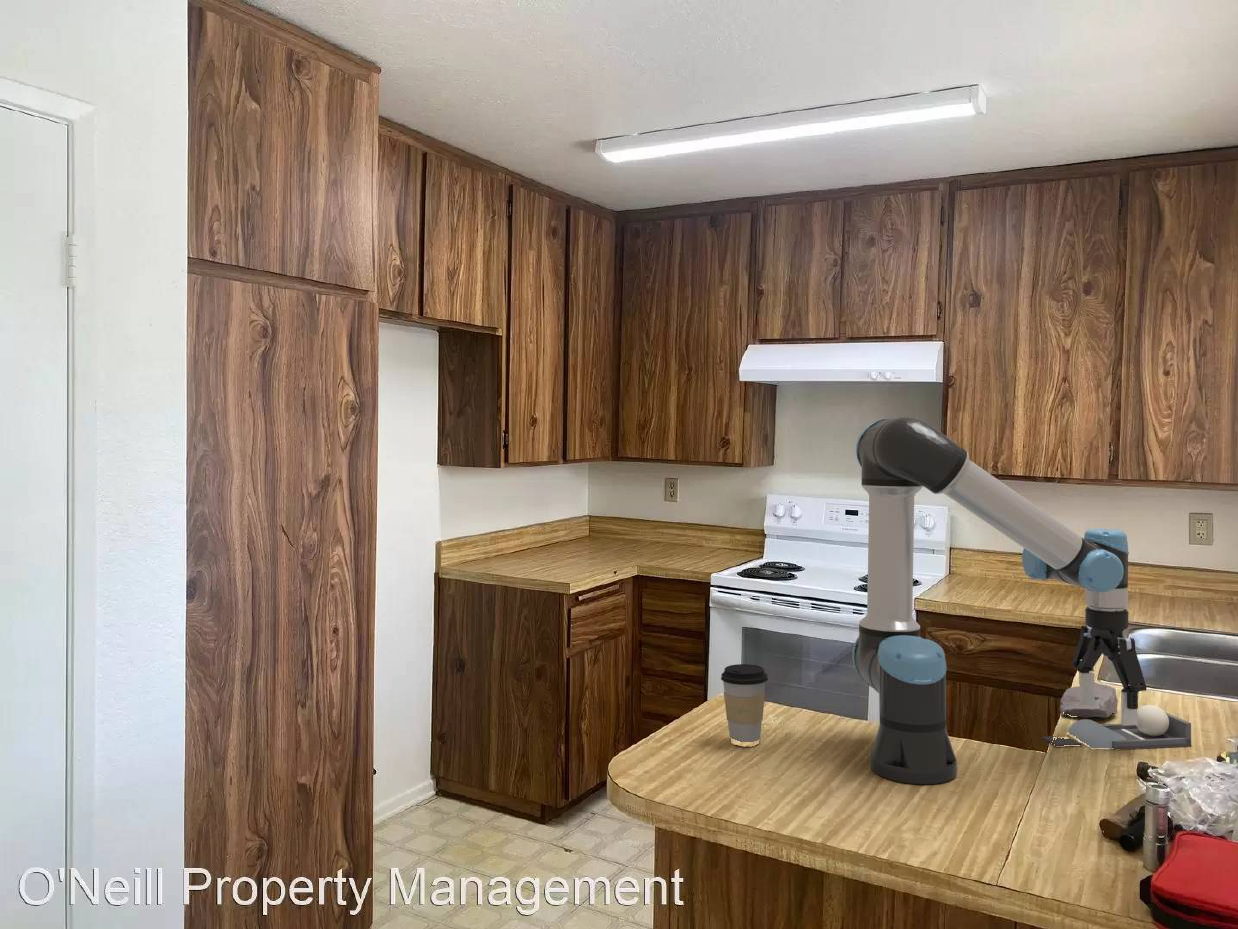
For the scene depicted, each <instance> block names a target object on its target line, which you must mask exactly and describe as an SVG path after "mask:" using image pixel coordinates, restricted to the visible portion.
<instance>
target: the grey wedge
mask: <svg viewBox="0 0 1238 929" xmlns="http://www.w3.org/2000/svg"><path fill="white" fill-rule="evenodd" d="M1067 732H1069V733H1070V734H1071V735H1073V736H1076V738H1078V739H1079V740H1080V741H1082V742H1084V743H1086V744H1087V745H1089V746H1090V747H1091V748H1112V741H1121V740H1127V739H1126V738H1125V737H1123V736H1122V735H1120V734H1118V733H1116V732H1114V731H1112V730H1110V729H1108V728H1106V727H1104V726H1102V724H1100V723H1098V722H1096V721H1094V720H1092V719H1088V718H1082V719H1079V720H1077V721H1075V722H1073V723H1072V725H1071V726H1069V728H1068V730H1067ZM1091 748H1090V749H1091Z"/></svg>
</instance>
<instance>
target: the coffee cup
mask: <svg viewBox="0 0 1238 929" xmlns="http://www.w3.org/2000/svg"><path fill="white" fill-rule="evenodd" d="M720 680H721V681H722V683H723V696H724V697H723V698H724V705H725V706H724V707H725V713H726V720H727V725H728V732H729V733H728V734H729V738H730V737H731V738H732V739H735V740H737V741H740V742H754V741H757V740H759V739H760V740H761V734H762V725H763V724H762V722H763V719H764V718H763V717H764V708H765V698H766V692H765V687H766V683H767V681H769V678H768V674H767V673H766V672H765V669H764V667H762V666H760V665H756V664H748V663H746V664H745V663H743V664H742V663H741V664H740V663H739V664H731V665H728V666H725V668H724V670H723V672H722V673H721V677H720Z"/></svg>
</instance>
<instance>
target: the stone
mask: <svg viewBox="0 0 1238 929" xmlns="http://www.w3.org/2000/svg"><path fill="white" fill-rule="evenodd" d="M1094 683H1095V705H1080V685H1078V686H1071V687H1069V688H1067V689H1066V690H1065V692H1064V693H1063V695H1062V697H1061V699H1060V705H1059V710H1060V713H1061V714H1062V713H1063V712H1064V715H1063V716H1065V714H1066V715H1067V714H1069V715H1071V716H1077V717H1085V718H1084V719H1088V718H1095V717H1096V718H1108V717H1110V716H1111V715H1113V714H1112V713H1114V712H1115V713H1117V712H1118V703H1119V700H1118V697H1117V692H1116V691H1117V690H1116V688H1115V687H1112V686H1109V685H1107V684H1101V683H1097V682H1095V681H1094ZM1115 713H1114V714H1115Z"/></svg>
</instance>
